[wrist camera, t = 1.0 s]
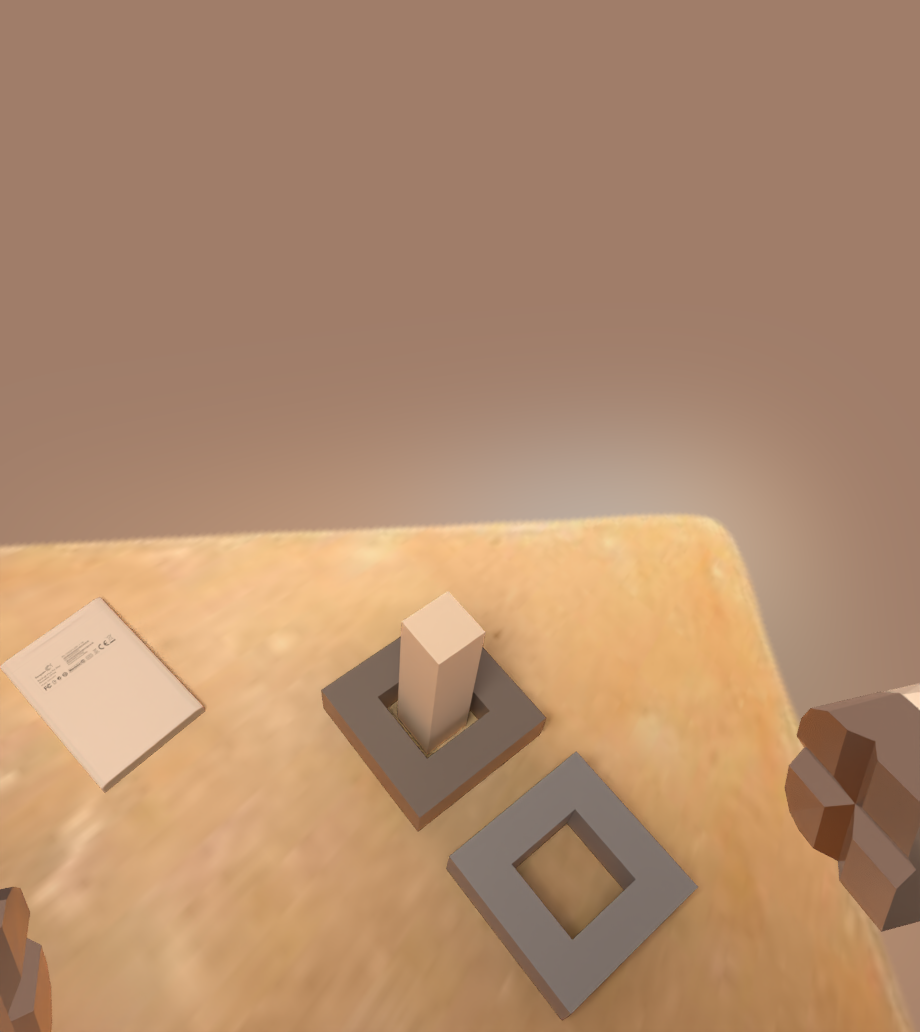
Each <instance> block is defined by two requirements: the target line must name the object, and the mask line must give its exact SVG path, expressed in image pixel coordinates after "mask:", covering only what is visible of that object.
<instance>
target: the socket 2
mask: <svg viewBox="0 0 920 1032" xmlns="http://www.w3.org/2000/svg"><path fill="white" fill-rule="evenodd" d="M565 824H568V825H569V826H570V827H571V828H572V830H573V831H574V832H575V833H576V834H577V835H578V837H579V838H580V839H581V840H582V841H583V842H584V844H585V845H586V846H587V847H588V848H589V850H590V851H591V852H592V853H593V854H594V855H595V857H596V858H597V859H598V860H599V861H600V862H601V864H602V865H603V866H604V867H605V868H606V869H607V871H608V872H609V873H610V874H611V875H612V876H613V878H614V879H615V880H616V881H617V882H618V883H619V885H620V886H621V887H622V888H623V889H624V891H623V892H622V893H621V894H620V895H619V896H618V897H617V898H616V899H615V900H614V901H613V902H612V903H611V904H610V905H608V906H607V907H606V908H605V909H604V910H603V911H602V912H601V913H600V914H599V915H598V916H597V917H596V918H595V919H594V920H593V921H592V922H591V923H590V924H588V925H587V926H586V927H585V928H584V929H583V930H582V931H581V932H580V933H579V934H578V935H577V936H576V937H575V938H574V939H573V940H572V939H571V937H570V936H569V935H568V934H567V933H566V931H565V930H564V929H563V928H562V926H561V925H560V924H559V923H558V921H557V920H556V919H555V918H554V916H553V915H552V914H551V913H550V911H549V910H548V909H547V908H546V906H545V905H544V904H543V903H542V901H541V900H540V899H539V898H538V896H537V895H536V894H535V893H534V891H533V890H532V889H531V888H530V886H529V885H528V884H527V883H526V881H525V880H524V879H523V878H522V876H521V875H520V874H519V873H518V871H517V870H516V869H515V868H516V867H517V866H518V865H519V864H521V863H522V862H523V861H524V860H525V859H526V858H527V857H529V856H530V855H531V854H532V853H533V852H534V851H536V850H537V849H538V848H539V847H540V846H541V845H542V844H544V843H545V842H546V841H547V840H548V839H549V838H550V837H552V836H553V835H554V834H555V833H556V832H557V831H559V830H560V829H561V828H562V827H563V826H564V825H565ZM446 869H447V871H448V872H449V873H450V874H451V876H452V877H453V878H454V880H455V881H456V882H457V884H458V885H459V886H460V888H461V889H462V890H463V892H464V893H465V894H466V895H467V897H468V898H469V899H470V901H471V902H472V903H473V905H474V906H475V907H476V909H477V910H478V911H479V913H480V914H481V915H482V916H483V918H484V919H485V920H486V922H487V923H488V924H489V926H490V927H491V928H492V930H493V931H494V932H495V933H496V935H497V936H498V937H499V939H500V940H501V941H502V943H503V944H504V945H505V947H506V948H507V949H508V951H509V952H510V953H511V954H512V956H513V957H514V958H515V960H516V961H517V962H518V964H519V965H520V966H521V968H522V969H523V970H524V972H525V973H526V974H527V975H528V977H529V978H530V979H531V981H532V982H533V983H534V985H535V986H536V987H537V989H538V990H539V991H540V993H541V994H542V995H543V996H544V998H545V999H546V1000H547V1002H548V1003H549V1004H550V1006H551V1007H552V1008H553V1010H554V1011H555V1012H556V1013H557V1015H558V1016H559V1017H560V1019H561V1020H563V1019H565V1018H566V1017H568V1016H569V1015H570V1014H572V1013H573V1012H574V1011H575V1010H576V1009H577V1008H578V1007H579V1006H580V1005H581V1004H582V1003H583V1002H584V1001H585V1000H586V999H587V998H588V997H589V996H590V995H591V994H592V993H593V992H594V991H595V990H596V989H597V988H598V987H599V986H600V985H601V984H602V983H603V982H604V981H605V980H606V979H607V978H608V977H609V976H610V975H611V974H612V973H613V972H614V971H615V970H616V969H617V968H618V967H619V966H620V965H621V964H622V963H623V962H624V961H625V960H626V959H627V958H628V957H629V956H630V955H631V954H632V953H633V952H634V951H635V950H636V949H637V948H638V947H639V946H640V945H641V944H642V943H643V942H644V941H645V940H646V939H647V938H648V937H649V936H650V935H651V934H652V933H653V932H654V931H655V930H656V929H657V928H658V927H659V926H660V925H661V924H662V923H663V922H664V921H665V920H666V919H667V918H668V917H669V916H670V915H671V914H672V913H673V912H674V911H675V910H676V909H677V908H678V907H679V906H680V905H681V904H682V903H683V902H684V901H685V900H686V899H687V898H688V897H689V896H690V895H691V894H692V893H693V892H694V891H695V890H696V889H697V888H698V886H697V885H696V884H695V883H694V882H693V881H692V880H691V879H690V878H689V876H688V875H687V874H686V873H685V872H684V871H683V870H682V869H681V867H680V866H679V865H678V864H677V863H676V862H675V861H674V860H673V859H672V857H671V856H670V855H669V854H668V853H667V852H666V851H665V850H664V849H663V847H662V846H661V845H660V844H659V843H658V842H657V841H656V840H655V839H654V837H653V836H652V835H651V834H650V833H649V832H648V831H647V830H646V829H645V827H644V826H643V825H642V824H641V823H640V822H639V821H638V820H637V818H636V817H635V816H634V815H633V814H632V813H631V812H630V811H629V810H628V808H627V807H626V806H625V805H624V804H623V803H622V802H621V801H620V800H619V798H618V797H617V796H616V795H615V794H614V793H613V792H612V791H611V790H610V788H609V787H608V786H607V785H606V784H605V783H604V782H603V781H602V779H601V778H600V777H599V776H598V775H597V774H596V773H595V772H594V771H593V769H592V768H591V767H590V766H589V765H588V764H587V763H586V762H585V761H584V759H583V758H582V757H581V756H580V755H579V754H578V753H577V752H575V753H574V754H572V755H571V756H570V757H569V758H568V759H566V760H565V761H564V762H563V763H562V764H560V765H559V766H558V767H557V768H556V769H554V770H553V771H552V772H551V773H550V774H548V775H547V776H546V777H545V778H543V779H542V780H541V781H540V782H539V783H537V784H536V785H535V786H534V787H533V788H531V789H530V790H529V791H528V792H527V793H525V794H524V795H523V796H522V797H521V798H519V799H518V800H517V801H516V802H514V803H513V804H512V805H511V806H510V807H508V808H507V809H506V810H505V811H504V812H502V813H501V814H500V815H499V816H498V817H496V818H495V819H494V820H493V821H492V822H490V823H489V824H488V825H487V826H485V827H484V828H483V829H482V830H481V831H479V832H478V833H477V834H476V835H475V836H473V837H472V838H471V839H470V840H469V841H467V842H466V843H465V844H464V845H463V846H461V847H460V848H459V849H458V850H456V851H455V852H454V853H453V854H452V855H450V856H449V860H448V864H447V868H446Z"/></svg>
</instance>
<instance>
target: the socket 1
mask: <svg viewBox="0 0 920 1032" xmlns="http://www.w3.org/2000/svg"><path fill="white" fill-rule="evenodd" d="M400 646H401V637H399V638H398V639H397V640H395V641H394V642H392V643H391V644H389V645H388V646H386V647H385V648H383V649H382V650H380V651H379V652H377V653H376V654H374V655H373V656H371V657H370V658H368V659H367V660H365V661H364V662H362V663H361V664H359V665H358V666H356V667H355V668H353V669H352V670H350V671H349V672H347V673H346V674H344V675H343V676H341V677H340V678H338V679H337V680H336V681H334V682H333V683H331V684H330V685H328V686H327V687H325V688H324V689H322V690H321V692H322V700H323V708H324V709H325V711H326V712H327V713H328V715H329V716H330V717H331V718H332V720H333V721H334V722H335V724H336V725H337V726H338V728H339V729H340V730H341V732H342V733H343V734H344V735H345V737H346V738H347V739H348V741H349V742H350V743H351V745H352V746H353V747H354V749H355V750H356V751H357V753H358V754H359V755H360V756H361V758H362V759H363V760H364V762H365V763H366V764H367V766H368V767H369V768H370V770H371V771H372V772H373V774H374V775H375V776H376V777H377V779H378V780H379V781H380V783H381V784H382V785H383V787H384V788H385V789H386V791H387V792H388V793H389V794H390V796H391V797H392V798H393V800H394V801H395V802H396V804H397V805H398V806H399V808H400V809H401V810H402V812H403V813H404V814H405V815H406V817H407V818H408V819H409V821H410V822H411V823H412V825H413V826H414V827H415V829H416V830H417V831H419V830H421V829H422V828H423V827H424V826H426V825H427V824H428V823H429V822H431V821H432V820H433V819H435V818H436V817H437V816H438V815H440V814H441V813H442V812H443V811H445V810H446V809H447V808H448V807H450V806H451V805H452V804H453V803H455V802H456V801H457V800H458V799H460V798H461V797H462V796H463V795H465V794H466V793H467V792H468V791H470V790H471V789H472V788H473V787H475V786H476V785H477V784H478V783H480V782H481V781H482V780H483V779H485V778H486V777H487V776H488V775H490V774H491V773H492V772H493V771H495V770H496V769H497V768H499V767H500V766H501V765H502V764H504V763H505V762H506V761H507V760H509V759H510V758H511V757H512V756H514V755H515V754H516V753H517V752H519V751H520V750H521V749H522V748H524V747H525V746H526V745H527V744H529V743H530V742H531V741H532V740H534V739H535V738H536V737H537V736H539V735H540V733H541V730H542V727H543V725H544V722H545V720H546V717H545V716H544V715H543V714H542V713H541V712H540V710H539V709H538V708H537V707H536V706H535V705H534V704H533V703H532V702H531V700H530V699H529V698H528V697H527V696H526V695H525V694H524V693H523V692H522V690H521V689H520V688H519V687H518V686H517V685H516V684H515V683H514V681H513V680H512V679H511V678H510V677H509V676H508V675H507V674H506V673H505V671H504V670H503V669H502V668H501V667H500V666H499V665H498V664H497V663H496V661H495V660H494V659H493V658H492V657H491V656H490V655H489V654H488V653H487V651H486V650H485V649H484V648H483V647H482V651H481V656H480V661H479V666H478V670H477V675H476V680H475V685H474V690H473V694H472V699H471V704H470V710H471V711H472V713H473V714H474V715H475V716H476V717H477V718H478V720H477V721H476V722H475V723H473V724H472V725H471V726H470V727H468V728H467V729H466V730H464V731H463V732H462V733H460V734H459V735H458V736H456V737H455V738H454V739H452V740H451V741H450V742H448V743H447V744H446V745H444V746H443V747H442V748H440V749H439V750H438V751H436V752H435V753H434V754H433V755H431V756H430V757H429V758H426V757H425V756H424V754H423V753H422V752H421V751H420V749H419V748H418V747H417V746H416V744H415V743H414V742H413V741H412V739H411V738H410V737H409V736H408V734H407V733H406V732H405V731H404V729H403V728H402V727H401V726H400V724H399V723H398V722H397V721H396V719H395V718H394V717H393V716H392V714H391V713H390V712H389V711H388V709H387V708H388V707H389V706H390V705H392V704H393V703H395V702H396V701H397V700H398V689H399V667H400Z"/></svg>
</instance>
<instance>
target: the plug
mask: <svg viewBox="0 0 920 1032" xmlns="http://www.w3.org/2000/svg"><path fill="white" fill-rule="evenodd" d="M484 637H485V631H484V630H483V629H482V628H481V626H480V625H479V624H478V623H477V622H476V621H475V620H474V619H473V618H472V617H471V615H470V614H469V613H468V612H467V611H466V610H465V609H464V608H463V607H462V606H461V604H460V603H459V602H458V601H457V600H456V599H455V598H454V597H453V596H452V595H451V593H450V592H449V591H447V592H445V593H444V594H442V595H441V596H439V597H438V598H436V599H435V600H433V601H432V602H430V603H429V604H427V605H426V606H424V607H423V608H421V609H420V610H418V611H417V612H415V613H414V614H412V615H411V616H409V617H408V618H406V619H405V620H403V621H402V624H401V646H400V667H399V689H398V711H397V717H398V719H399V720H400V721H401V722H402V724H403V725H404V726H405V727H406V729H407V730H408V731H409V732H410V734H411V735H412V736H413V737H414V739H415V740H416V741H417V742H418V744H419V745H420V746H421V747H422V749H423V750H424V751H425V752H426V754H427V755H428V754H429V753H430V752H432V751H433V750H434V749H436V748H437V747H438V746H440V745H441V744H442V743H444V742H445V741H446V740H448V739H449V738H450V737H452V736H453V735H454V734H456V733H457V732H458V731H460V730H461V729H462V728H464V727H465V726H466V723H467V718H468V714H469V709H470V704H471V699H472V694H473V690H474V685H475V680H476V675H477V670H478V666H479V661H480V656H481V651H482V646H483V642H484Z"/></svg>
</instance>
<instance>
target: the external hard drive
mask: <svg viewBox="0 0 920 1032" xmlns="http://www.w3.org/2000/svg"><path fill="white" fill-rule="evenodd" d="M0 668H1V669H2V671H3V672H4V673H5V674H6V676H7V677H8V678H9V679H10V680H11V682H12V683H13V684H14V685H15V687H16V688H17V689H18V690H19V691H20V693H21V694H22V695H23V696H24V697H25V699H26V700H27V701H28V702H29V703H30V705H31V706H32V707H33V708H34V709H35V711H36V712H37V713H38V714H39V715H40V717H41V718H42V719H43V720H44V721H45V723H46V724H47V725H48V726H49V727H50V729H51V730H52V731H53V732H54V733H55V735H56V736H57V737H58V738H59V739H60V741H61V742H62V743H63V744H64V745H65V747H66V748H67V749H68V750H69V751H70V753H71V754H72V755H73V756H74V757H75V759H76V760H77V761H78V762H79V763H80V765H81V766H82V767H83V768H84V769H85V771H86V772H87V773H88V774H89V775H90V776H91V778H92V779H93V780H94V781H95V782H96V784H97V785H98V786H99V787H100V788H101V789H102V791H103V792H104V793H105V792H107V791H108V790H109V789H110V788H112V787H113V786H114V785H115V784H116V783H118V782H119V781H120V780H121V779H122V778H124V777H125V776H126V775H127V774H129V773H130V772H131V771H132V770H134V769H135V768H136V767H137V766H138V765H140V764H141V763H142V762H143V761H145V760H146V759H147V758H148V757H149V756H151V755H152V754H153V753H154V752H156V751H157V750H158V749H159V748H161V747H162V746H163V745H164V744H165V743H167V742H168V741H169V740H170V739H172V738H173V737H174V736H175V735H176V734H178V733H179V732H180V731H181V730H183V729H184V728H185V727H186V726H188V725H189V724H190V723H191V722H193V721H194V720H195V719H196V718H197V717H199V716H200V715H201V714H202V713H204V712H205V709H204V707H203V705H202V704H201V703H200V702H199V701H198V700H197V699H196V698H195V697H194V696H193V695H192V694H191V693H190V692H189V691H188V690H187V688H186V687H185V686H184V685H183V684H182V683H181V682H180V681H179V680H178V679H177V678H176V677H175V676H174V675H173V674H172V673H171V671H170V670H169V669H168V668H167V667H166V666H165V665H164V664H163V663H162V662H161V661H160V660H159V659H158V658H157V657H156V656H155V655H154V654H153V652H152V651H151V650H150V649H149V648H148V647H147V646H146V645H145V644H144V643H143V642H142V641H141V640H140V639H139V638H138V637H137V636H136V634H135V633H134V632H133V631H132V630H131V629H130V628H129V627H128V626H127V625H126V624H125V623H124V622H123V621H122V620H121V619H120V618H119V617H118V615H117V614H116V613H115V612H114V611H113V610H112V609H111V608H110V607H109V606H108V605H107V604H106V603H105V602H104V601H103V600H102V598H100V597H99V598H96V599H94V600H93V601H91V602H90V603H88V604H87V605H85V606H84V607H83V608H81V609H80V610H78V611H77V612H76V613H74V614H73V615H71V616H70V617H68V618H67V619H66V620H64V621H63V622H61V623H60V624H58V625H57V626H56V627H54V628H53V629H51V630H50V631H48V632H47V633H45V634H44V635H42V636H41V637H39V638H38V639H37V640H35V641H34V642H32V643H31V644H29V645H28V646H27V647H25V648H24V649H22V650H21V651H19V652H18V653H16V654H15V655H13V656H12V657H11V658H9V659H8V660H6V661H5V662H4V663H3V664H2V665H1V666H0Z"/></svg>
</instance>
